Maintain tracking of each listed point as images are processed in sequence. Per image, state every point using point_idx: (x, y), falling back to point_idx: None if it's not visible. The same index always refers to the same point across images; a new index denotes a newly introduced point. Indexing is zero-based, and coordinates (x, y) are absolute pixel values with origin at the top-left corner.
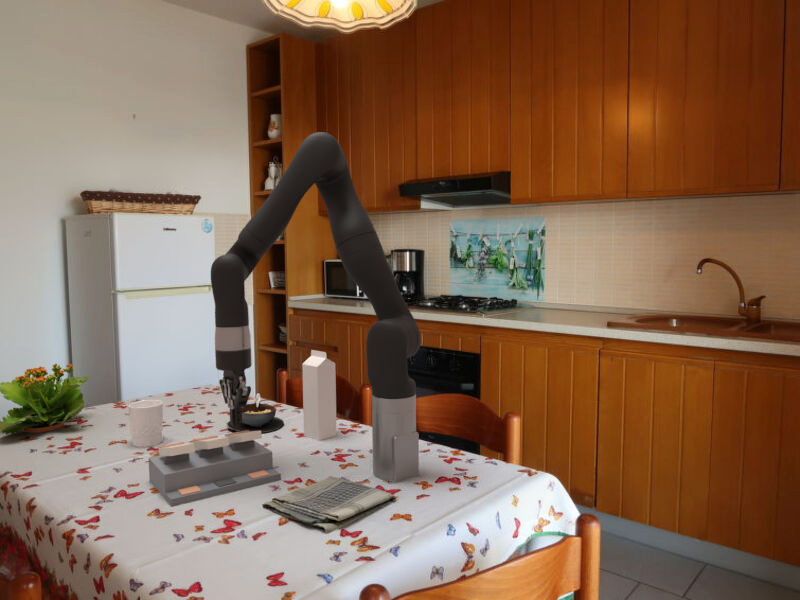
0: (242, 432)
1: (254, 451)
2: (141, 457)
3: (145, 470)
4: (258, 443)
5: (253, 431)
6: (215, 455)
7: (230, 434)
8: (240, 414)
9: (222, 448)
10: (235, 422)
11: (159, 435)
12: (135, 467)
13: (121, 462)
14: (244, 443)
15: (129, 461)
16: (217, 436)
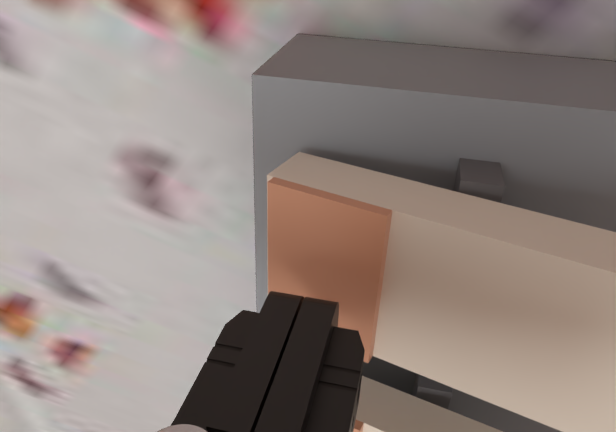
0: (382, 268)
1: (611, 224)
2: (8, 359)
3: (162, 407)
4: (444, 97)
5: (589, 293)
6: (457, 402)
7: (372, 354)
8: (349, 417)
9: (451, 388)
10: (359, 394)
11: None
12: (112, 411)
13: (38, 412)
14: None
15: (38, 396)
16: (360, 428)
